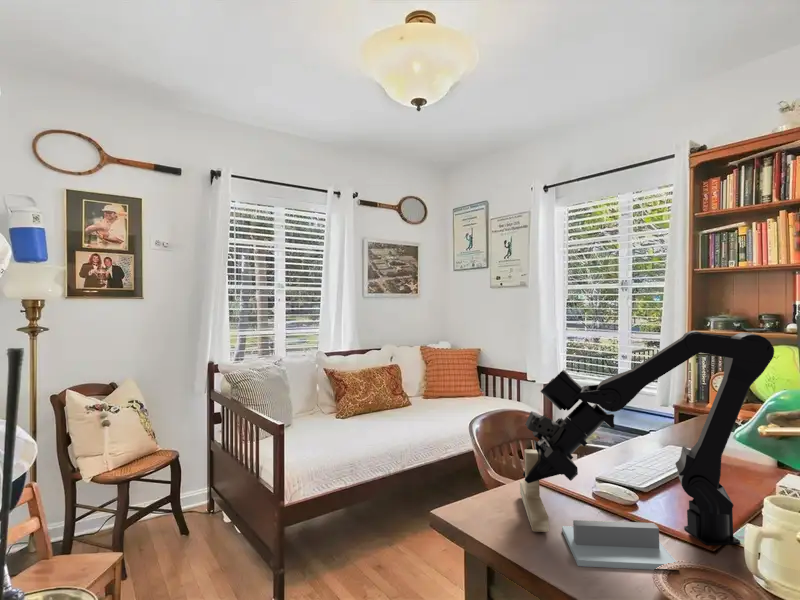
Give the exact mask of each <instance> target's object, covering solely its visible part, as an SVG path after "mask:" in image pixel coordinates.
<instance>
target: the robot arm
mask: <svg viewBox="0 0 800 600" xmlns="http://www.w3.org/2000/svg"><path fill="white" fill-rule="evenodd" d="M698 354H706V355H711V356H719V357H724V361H723V363H724V364H723V377H722V379H721V381H720V382H721V383H720V384H719V386H718V389H717V393H716V394H715V396H714V399H713V402H712V404H711V407H710V410H709V412H708V415H707V417H706V419H705V422H704V424H703V426H702V427H703V428H702V429H701V432H700V435H699V437H698V439H697V441H696V443H695V444H694V446H693V447H691V449H689V448H687V447H686V446H682V447H681V451H680V456H679V459H678V460H677V461H676V462H675V467H676V469H677V475H678V479H679V482H680V484H681V487H682V489H683V491H684V492H685V493H686V495H688V496H689V497H690V498H692V499H691V500H688V508H687V510H686V514H687V515H686V518H687V522H686V523H687V525H684V526H683V529H684V530H685V531H686V532H688V533H689V534H690V535H691V536H693V537H694V538H695V539H697V540H698V541H700V542H701V543H702V544H705V545H706V546H726V545H741V540H739V539H738V538H737V537H735V536H734V516H733V513H734V512H733V508H734V503H733V501H732V500H731V498H730V496H729V494H728V492H727V490H726V488H725V487H724V485H723V484H721V483H720V480H721V475H722V474H721V473H722V457H723V454H724V451H725V449H726V447H727V443H728V441H729V439H730V436H731V434H732V431H733V429H734V426H735V424H736V422H737V419H738V417H739V414H740V411H741V409H742V407H743V405H744V402H745V399H746V397H747V394H748V392H749V390H750V388H751V386H752V385H753V383H755V382H756V380H757V379H759V378H760V376H761V375H762V374H763V373H764V372H765V370H766V369H767V368H768V365H770V362H771V361H773V358H774V355H775V347H774V346H773V344H772V343H771V341H769V339H767V338H766V337H764V336H761V335H759V334H755V333H751V332H738V333H736V334H735V335H731V336H730V335H723V334H714V333H713V334H712V333H705V332H704V333H703V332H701V331H697V330H689V331H688V332H685V333H684V334H683V335H682V336H681V337H680V338H678V339H677V340H675V341H673V342H672V343H671V344H669V345H667V346H665V347H664V348H663V349H662V350H660V351H658V352H656V353H655V354H653V355H651V356H650V357H649V358H647V359H646V360H644V361H642V362H641V363H639V364H638V365H636V366H634V367H633V368H631V369H629V370H627V371H623V372H620V373H617V374H615V375H612V376H610V377H608V378H606V379H603V380H602V381H601V382H599V383H598V384H592V385H588V384H587V385H583V386H581V385H580V384H579V383H578V382H576V381H575V380H574V378H572V376H570V374H569V373H568V372H567V371H566V370H564V369H562V370H561V371H560V372H559V373H558V374H557V375H556V376H554V377H553V378H551V380H550V381H549V382H548V383H547V384H546V385H544V387H543V388H542V389H541V390H540V393H541V394H543V396H544V397H545V398H546V399H548V400H549V401H550V402H551V403H552V404H553V405H554V406H555V407H556V408H557V409H558V410H560V411H562V410H563V411H565V410H566V411H567V412H568V411H569V410H571V409H572V408H573V407H574V406H575V405H576V404H577V403H578V402H579V401H581V402H580V403H579V404H578V405H577V406H575V408H574V409H573V410H572V411H571V412H570V413H569V414H568V415H567V416H566V417H565V418H564V419H563V418H562V417H561V418H557V419H556V421H554V420H552V418H550V417H547V416H546V415H541V414H539V413H538V412H537V413H536V412H534V411H530V413H529V415H528V418H527V419H526V421H525V425H526V428H527V430H529V431H530V432H532V434H533V437H535V438H537V439H538V441H537V440H536V439H534V440H533V444H534V450H537V452H538V461H537V462H536V464H535V465H534V466H533V468H532V469H531V470H530V472H529V473H528V475H527V476H526V478H525V470H524V471H523V473H522V476H523V477H524V480H525V481H526V482H527V483H531V482H535V481H538V480H539V481H540V480H544V479H547V478H551V477H554V476H559V475H561V476H562V475H564V477H566V479H567V480H569V481H572V480H573V479H574V478H576V477H577V476H578V466H577V464H575V462H574V461H573V459H574V457H573V453H575V451H576V450H577V449H578V448H579V447H581V446H582V447H584V448H585V447H586V446H587V445H588V444H589V443H588V442H587V439H588V438H589V437H591V435H593V434H594V433H595V432H596V431H597V430H598V429H599V428H600V427H601V426H602V425H603V424H604V423H605V424H606V425H607V426H608V427H610V428H611V429H614V428H615V426H616V425H615V414H614V413H615V412H618V411H621V410H622V409H623V408H625V407H626V406H627V405H628V404H630V402H631V401H632V400H633V399H635V397H636V396H637V395H638V394H639V393H640V392H641V391H642V390H643V389H644V388H645V387H646V386H648V385H650V384H651V383H653V382H654V381H656V380H658V379H660V378H661V377H662V376H664V375H665V374H667V373H669V372H671V371H672V370H673V369H676V368H677V367H678V366H680V365H681V364H683V363H685V362H687V361H688V360H690V359H691V358H693V357H695V356H696V355H698ZM591 404H594V405H591ZM606 411H607V412H612V413H607V412H606Z"/></svg>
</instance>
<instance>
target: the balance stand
mask: <svg viewBox="0 0 800 600" xmlns="http://www.w3.org/2000/svg"><path fill="white" fill-rule="evenodd" d="M572 523H573V524H572V525H573V526H571V525H570V526H568V525H567V526H566V525H562V526H561V531H562V534H563V536H564V538H565V541H566V543H567V544H568V547H569V549H570V551H571V554H572V556H573V558H574V561H575V563H576V565H577V567H586V568H587V567H589V568H610V569H611V568H612V569H629V570H633V569H634V570H650V571H651V570H652V571H653V570H654V569H656V568H657V567H659V566H661V565H663V564H667V563H673V562H677V560H676V559H675V558H674V556H672V554H671V553H670V552H669V551H668V549H666V547H665V545H663V544H662V543H661V541H660V528H659V526H658V525H657V524H655V523H654V522H638V521H637V522H635V521H607V520H605V521H603V520H581V519H580V520H578V519H577V520H576V519H572Z"/></svg>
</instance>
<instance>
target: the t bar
mask: <svg viewBox="0 0 800 600" xmlns="http://www.w3.org/2000/svg"><path fill="white" fill-rule="evenodd" d="M523 452H524V454H523V455H524V471H525V477H524V479H522V480H521V479H520V480H519V490H520V491H519V494H520V496H521V497H520V498H521V500H522V503H523V507H524V509H525V512H526V515H527V519H528V521H529V524H530V526H531V527H530V528H531V530H532V532H539V533H541V532H543V533H544V532H545V533H549V532H550V531H549V530H550V529H549V526H550V525H549V514H548V512H547V510H546V507H545V506H544V505H545V504H544V503H543V501H542V500H543V499H542V498H541V495H540V493H541V492H540V480H538V481H535V482H531V483H527V482H526V481H525V478H526V476H527V475H528V473H529V472H530V470H531V469H532V468H533V466H534V465H535V464H536V462H537V461H538V452H537V450H535V449H530V448H529V449H527V448H526V449H524V451H523Z"/></svg>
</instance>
